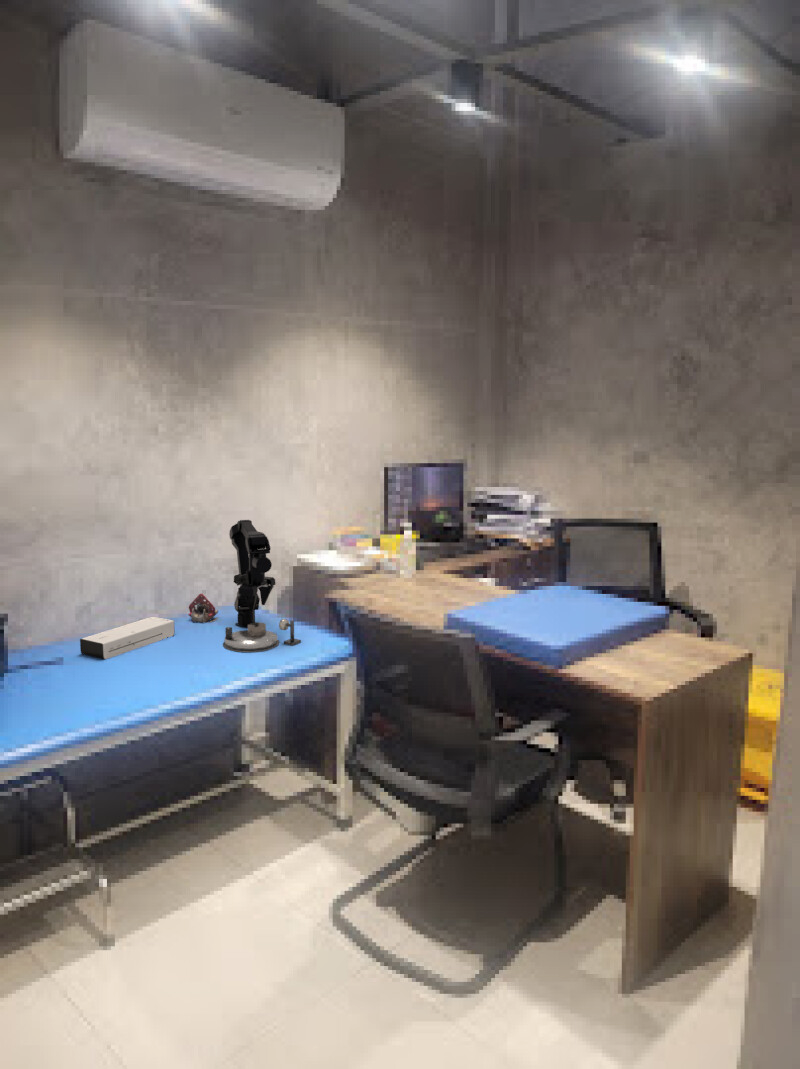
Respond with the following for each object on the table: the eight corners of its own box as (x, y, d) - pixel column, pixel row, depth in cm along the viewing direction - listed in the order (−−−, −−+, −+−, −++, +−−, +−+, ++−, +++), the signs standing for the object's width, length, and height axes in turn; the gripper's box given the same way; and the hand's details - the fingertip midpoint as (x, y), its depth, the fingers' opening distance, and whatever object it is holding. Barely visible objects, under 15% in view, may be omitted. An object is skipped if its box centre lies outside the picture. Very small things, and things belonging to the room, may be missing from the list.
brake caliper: (181, 617, 324) (188, 590, 329) (191, 628, 334) (198, 600, 339) (208, 619, 322) (215, 592, 327) (217, 630, 332) (224, 602, 337)
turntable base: (250, 632, 314) (250, 631, 314) (290, 642, 303) (290, 641, 303) (211, 645, 297) (211, 644, 297) (251, 656, 286) (251, 655, 286)
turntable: (250, 631, 313) (250, 616, 312) (288, 640, 303) (288, 625, 302) (213, 644, 298) (213, 628, 297) (251, 653, 287) (251, 637, 286)
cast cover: (256, 630, 308) (256, 621, 307) (269, 633, 305) (269, 624, 304) (244, 634, 303) (243, 624, 302) (257, 637, 299) (257, 628, 298)
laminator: (103, 661, 280) (102, 643, 279) (78, 655, 286) (77, 638, 284) (174, 636, 309) (174, 620, 308) (151, 631, 315) (150, 615, 314)
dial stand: (290, 640, 306) (289, 616, 304) (300, 642, 303) (300, 619, 301) (279, 643, 301) (278, 620, 299) (290, 646, 298) (289, 622, 296)
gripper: (249, 560, 315) (250, 600, 318) (224, 570, 298) (225, 612, 301) (275, 563, 312) (276, 602, 315) (252, 573, 294) (252, 615, 297)
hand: (257, 607), depth 307 cm, fingers open, 9 cm apart
